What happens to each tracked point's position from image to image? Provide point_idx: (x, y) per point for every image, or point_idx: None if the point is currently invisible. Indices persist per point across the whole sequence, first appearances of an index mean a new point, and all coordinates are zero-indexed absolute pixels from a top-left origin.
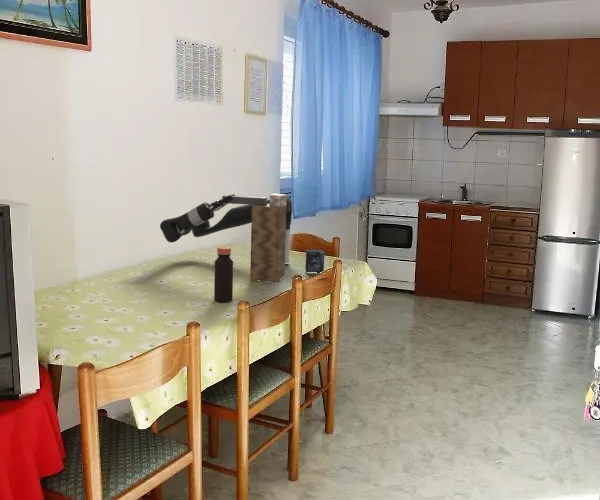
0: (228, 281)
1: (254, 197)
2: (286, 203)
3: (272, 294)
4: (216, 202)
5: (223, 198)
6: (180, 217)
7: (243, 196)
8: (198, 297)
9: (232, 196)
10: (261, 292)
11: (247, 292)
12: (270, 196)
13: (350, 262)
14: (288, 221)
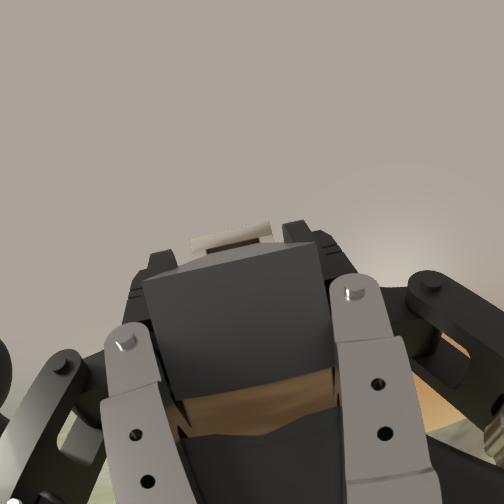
0: None
1: (246, 246)
2: (5, 346)
3: (447, 427)
4: (482, 314)
5: (318, 282)
6: None
7: (210, 256)
8: None
9: (266, 246)
10: (455, 445)
11: (484, 454)
12: (270, 227)
13: (61, 443)
14: (5, 417)
